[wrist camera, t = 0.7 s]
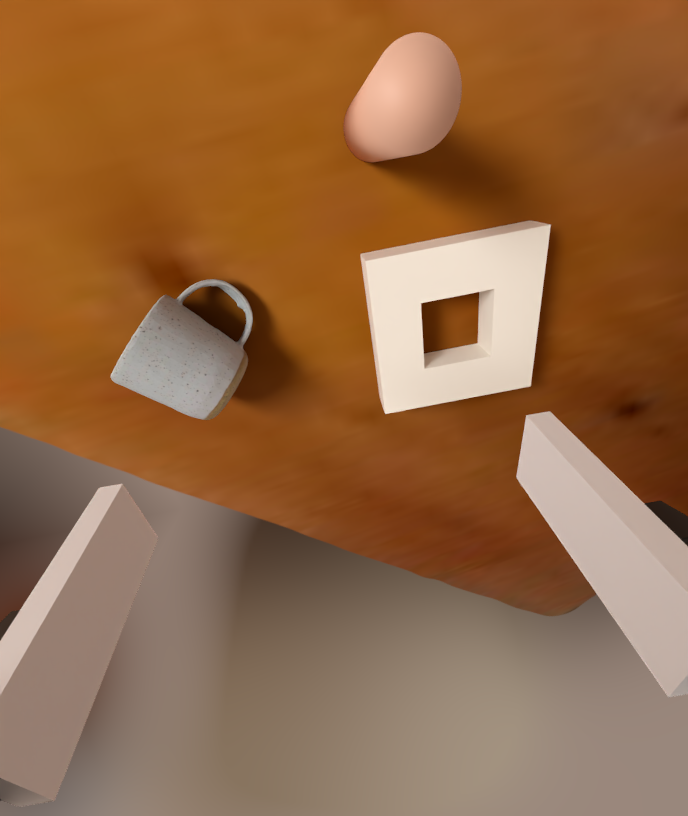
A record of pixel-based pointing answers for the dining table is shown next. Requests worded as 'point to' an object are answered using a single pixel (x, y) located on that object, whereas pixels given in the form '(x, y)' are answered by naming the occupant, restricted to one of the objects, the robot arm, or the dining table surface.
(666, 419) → the dining table surface
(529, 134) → the dining table surface
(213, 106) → the dining table surface
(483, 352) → the socket block
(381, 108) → the peg
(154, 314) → the ceramic mug
